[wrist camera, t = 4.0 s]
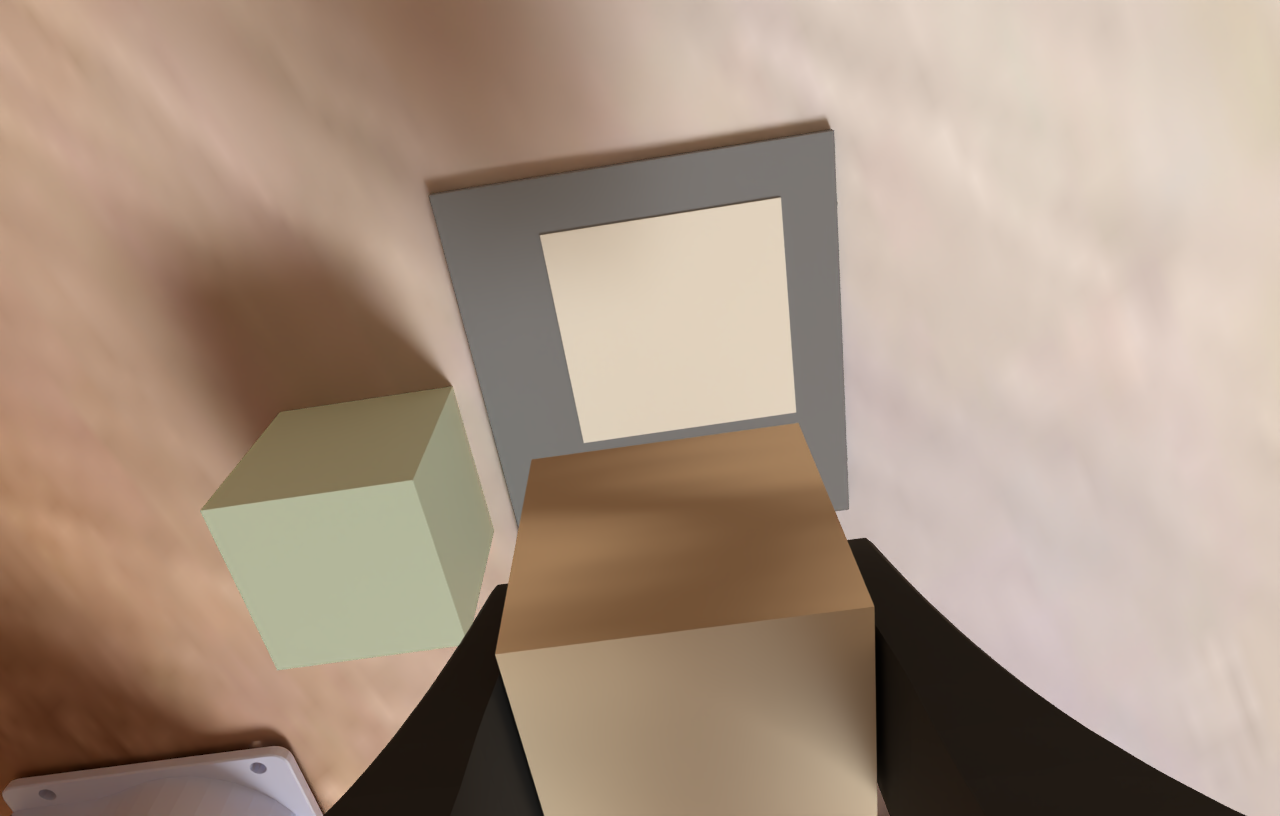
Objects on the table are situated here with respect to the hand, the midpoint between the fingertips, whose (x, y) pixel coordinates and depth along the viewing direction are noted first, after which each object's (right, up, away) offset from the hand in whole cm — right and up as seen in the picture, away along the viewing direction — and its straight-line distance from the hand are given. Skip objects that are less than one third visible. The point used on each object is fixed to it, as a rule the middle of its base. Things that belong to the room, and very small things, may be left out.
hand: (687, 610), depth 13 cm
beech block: (0, +1, +2) cm, 2 cm away
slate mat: (0, +4, +7) cm, 9 cm away
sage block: (-7, +1, +9) cm, 12 cm away
